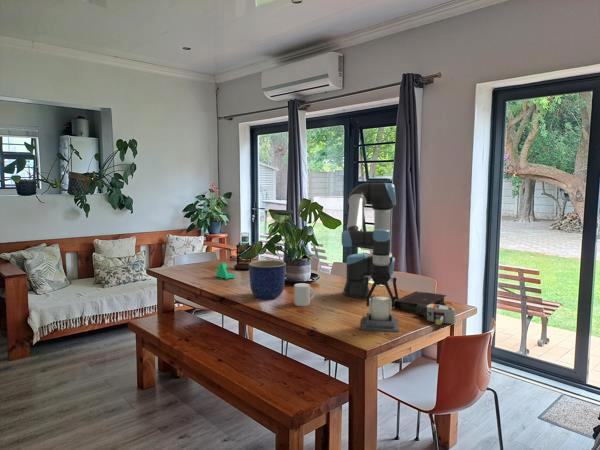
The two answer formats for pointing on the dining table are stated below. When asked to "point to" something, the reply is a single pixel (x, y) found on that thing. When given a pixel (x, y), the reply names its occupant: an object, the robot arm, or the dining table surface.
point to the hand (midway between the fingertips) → (380, 313)
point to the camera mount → (224, 272)
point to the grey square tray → (380, 324)
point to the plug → (380, 308)
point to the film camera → (436, 313)
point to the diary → (418, 300)
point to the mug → (302, 294)
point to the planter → (267, 278)
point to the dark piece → (241, 265)
